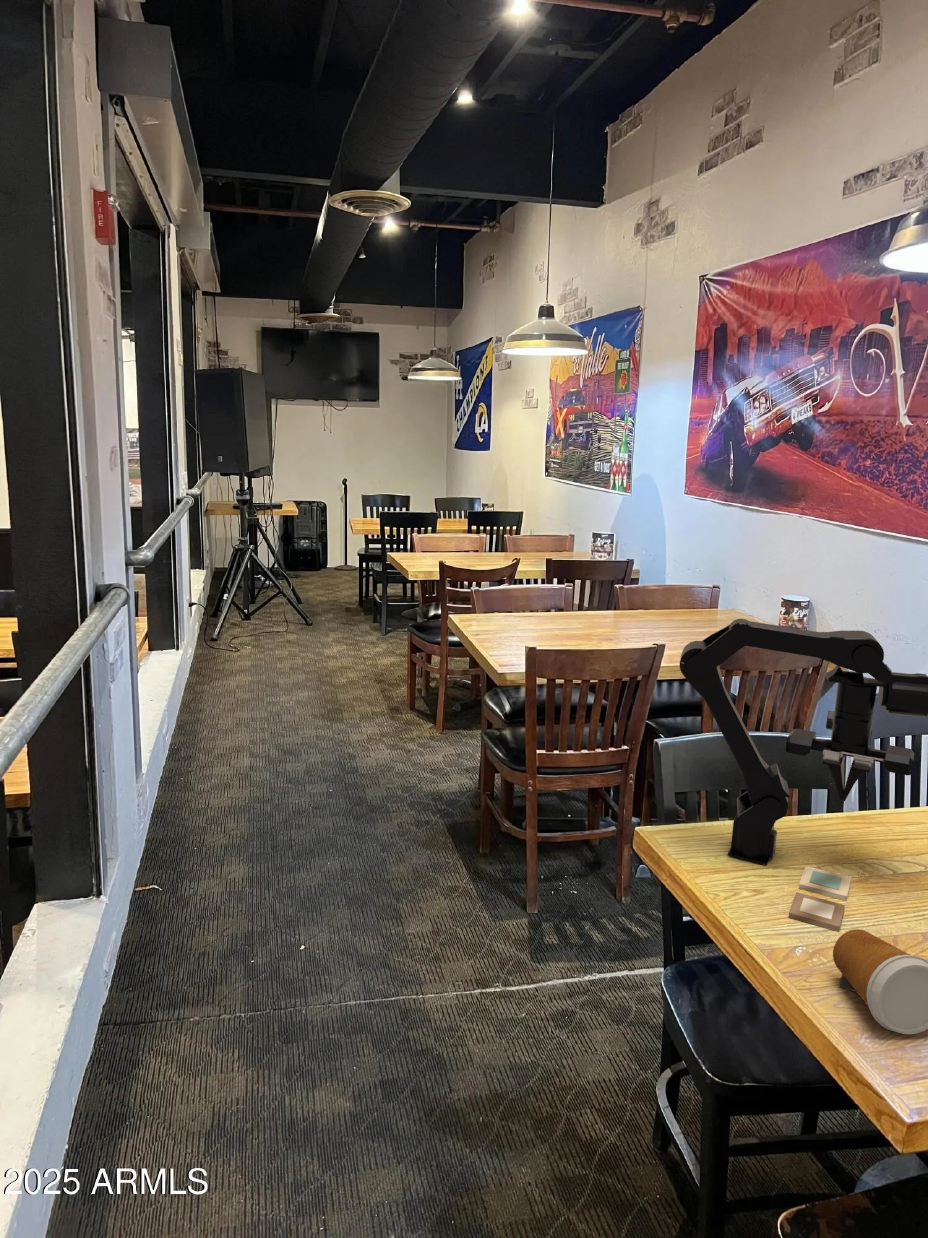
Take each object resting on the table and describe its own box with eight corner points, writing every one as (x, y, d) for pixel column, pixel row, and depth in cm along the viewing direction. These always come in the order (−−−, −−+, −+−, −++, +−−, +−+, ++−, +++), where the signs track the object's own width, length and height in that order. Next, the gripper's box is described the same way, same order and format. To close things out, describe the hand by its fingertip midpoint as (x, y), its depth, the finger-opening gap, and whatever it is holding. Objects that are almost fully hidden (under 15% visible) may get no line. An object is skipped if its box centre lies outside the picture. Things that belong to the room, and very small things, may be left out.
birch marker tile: (798, 888, 134) (799, 883, 134) (805, 870, 140) (805, 865, 140) (846, 901, 131) (847, 895, 131) (850, 881, 137) (851, 876, 137)
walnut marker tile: (788, 917, 126) (789, 912, 125) (795, 896, 132) (796, 891, 131) (839, 931, 122) (839, 926, 122) (844, 909, 128) (845, 904, 128)
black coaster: (839, 986, 110) (839, 985, 109) (842, 970, 113) (843, 969, 113) (873, 997, 108) (873, 996, 108) (875, 980, 111) (875, 979, 111)
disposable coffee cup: (808, 968, 111) (860, 1018, 99) (843, 905, 111) (899, 948, 99) (866, 998, 112) (925, 1051, 100) (901, 935, 112) (964, 981, 100)
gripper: (920, 707, 138) (908, 796, 142) (800, 688, 147) (791, 772, 150) (918, 725, 129) (904, 820, 132) (790, 704, 138) (780, 793, 141)
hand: (842, 800), depth 139 cm, fingers closed
